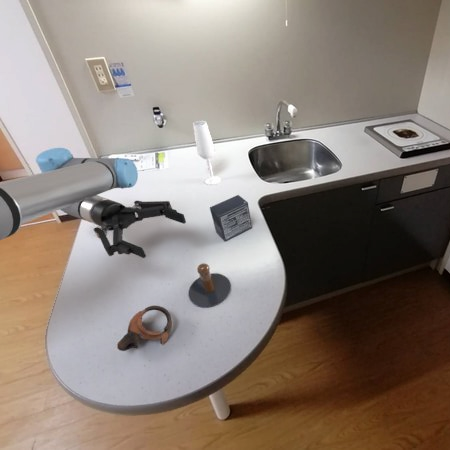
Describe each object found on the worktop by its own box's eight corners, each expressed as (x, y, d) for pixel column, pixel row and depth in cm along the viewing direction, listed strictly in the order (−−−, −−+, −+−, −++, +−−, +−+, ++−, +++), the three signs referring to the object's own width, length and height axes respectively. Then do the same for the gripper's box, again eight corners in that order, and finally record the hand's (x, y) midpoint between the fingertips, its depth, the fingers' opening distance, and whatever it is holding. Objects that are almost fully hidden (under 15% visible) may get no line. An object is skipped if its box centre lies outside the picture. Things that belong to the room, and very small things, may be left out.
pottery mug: (147, 312, 77) (155, 294, 73) (174, 337, 77) (184, 320, 72) (103, 346, 67) (109, 328, 63) (134, 375, 67) (143, 358, 62)
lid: (199, 315, 76) (189, 290, 70) (182, 287, 83) (172, 262, 77) (238, 293, 81) (232, 268, 75) (219, 268, 88) (212, 243, 82)
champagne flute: (224, 180, 125) (213, 122, 109) (210, 186, 121) (196, 128, 106) (215, 174, 128) (202, 117, 113) (201, 180, 125) (186, 123, 109)
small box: (242, 218, 105) (238, 193, 99) (253, 228, 102) (249, 202, 95) (215, 232, 100) (208, 206, 93) (225, 242, 96) (218, 216, 90)
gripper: (145, 199, 93) (201, 217, 86) (67, 253, 76) (129, 281, 69) (136, 178, 88) (194, 195, 81) (51, 230, 71) (115, 258, 64)
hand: (164, 235), depth 75 cm, fingers open, 13 cm apart
